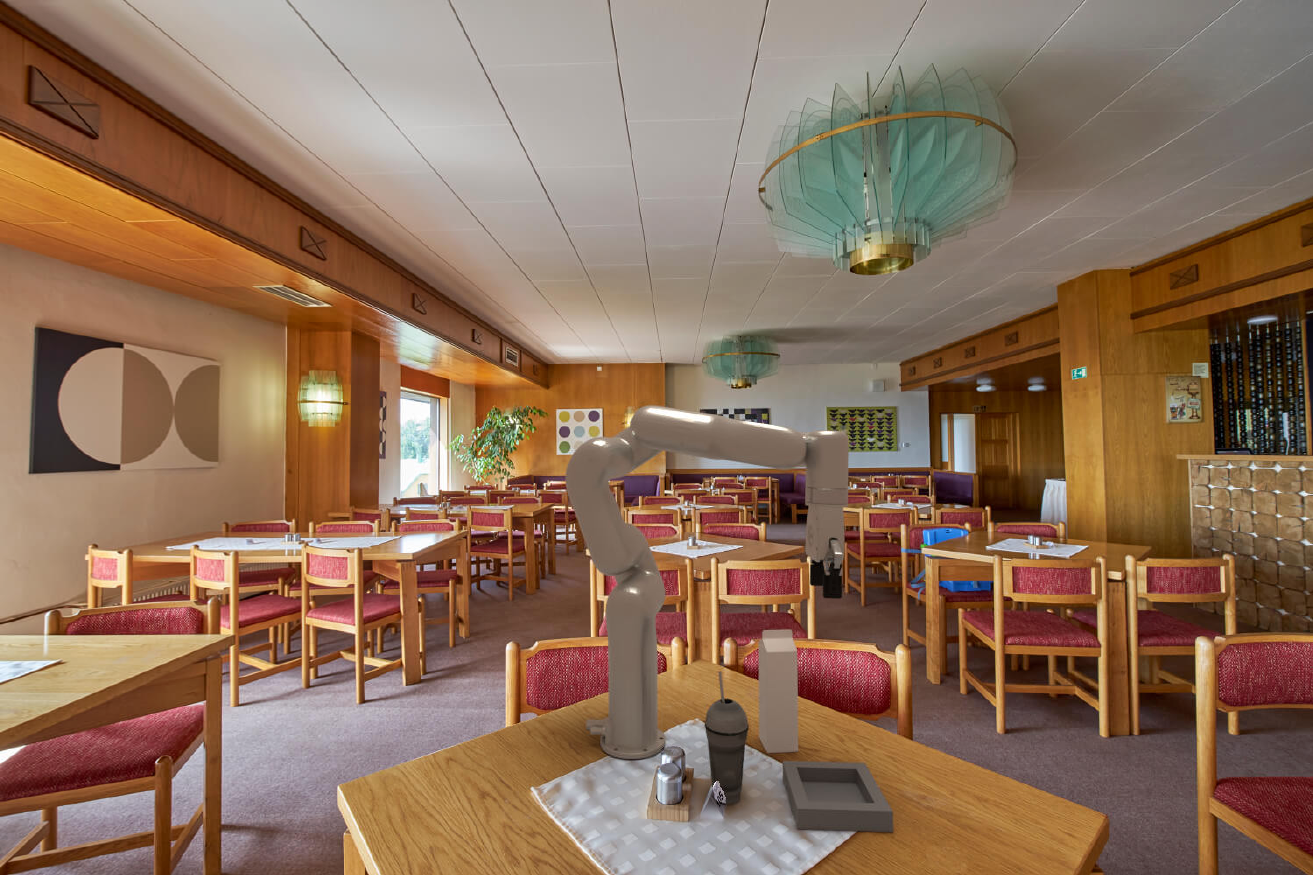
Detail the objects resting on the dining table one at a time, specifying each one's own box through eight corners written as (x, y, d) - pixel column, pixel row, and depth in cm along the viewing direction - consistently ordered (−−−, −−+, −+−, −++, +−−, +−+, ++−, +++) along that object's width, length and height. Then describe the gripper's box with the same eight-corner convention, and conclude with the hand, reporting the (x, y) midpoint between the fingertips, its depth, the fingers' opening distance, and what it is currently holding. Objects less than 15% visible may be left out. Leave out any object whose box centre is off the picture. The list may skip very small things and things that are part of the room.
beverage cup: (735, 815, 93) (734, 684, 93) (695, 799, 97) (695, 674, 98) (757, 794, 98) (756, 671, 99) (719, 779, 103) (718, 662, 103)
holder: (797, 828, 89) (797, 808, 89) (782, 778, 103) (782, 760, 103) (893, 832, 88) (892, 811, 88) (865, 780, 102) (864, 762, 102)
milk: (798, 752, 112) (798, 634, 113) (766, 753, 112) (766, 635, 112) (788, 736, 118) (787, 625, 119) (758, 738, 118) (758, 625, 118)
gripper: (796, 494, 118) (794, 580, 118) (817, 501, 101) (815, 602, 101) (834, 495, 118) (833, 581, 118) (862, 502, 101) (860, 604, 100)
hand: (825, 591), depth 109 cm, fingers open, 9 cm apart
